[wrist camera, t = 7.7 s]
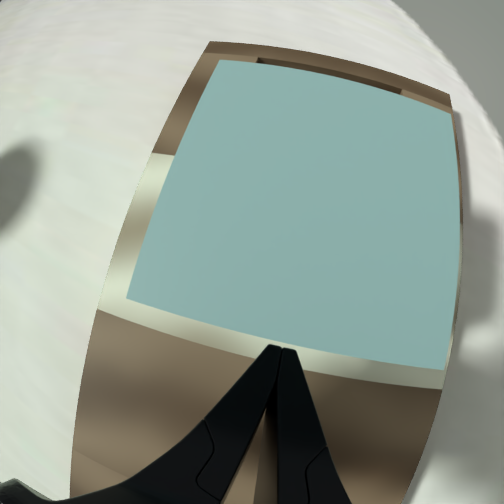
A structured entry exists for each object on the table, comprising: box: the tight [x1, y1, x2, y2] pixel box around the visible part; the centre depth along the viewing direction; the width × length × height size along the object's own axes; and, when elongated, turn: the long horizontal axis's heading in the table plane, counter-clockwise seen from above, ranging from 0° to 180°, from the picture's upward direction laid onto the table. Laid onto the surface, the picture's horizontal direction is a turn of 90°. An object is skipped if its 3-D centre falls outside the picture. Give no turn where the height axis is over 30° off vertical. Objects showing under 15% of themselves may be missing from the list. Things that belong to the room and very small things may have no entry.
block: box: [126, 60, 460, 370], centre depth 10 cm, size 7×7×8 cm
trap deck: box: [70, 41, 463, 504], centre depth 14 cm, size 38×18×2 cm, turn 166°
